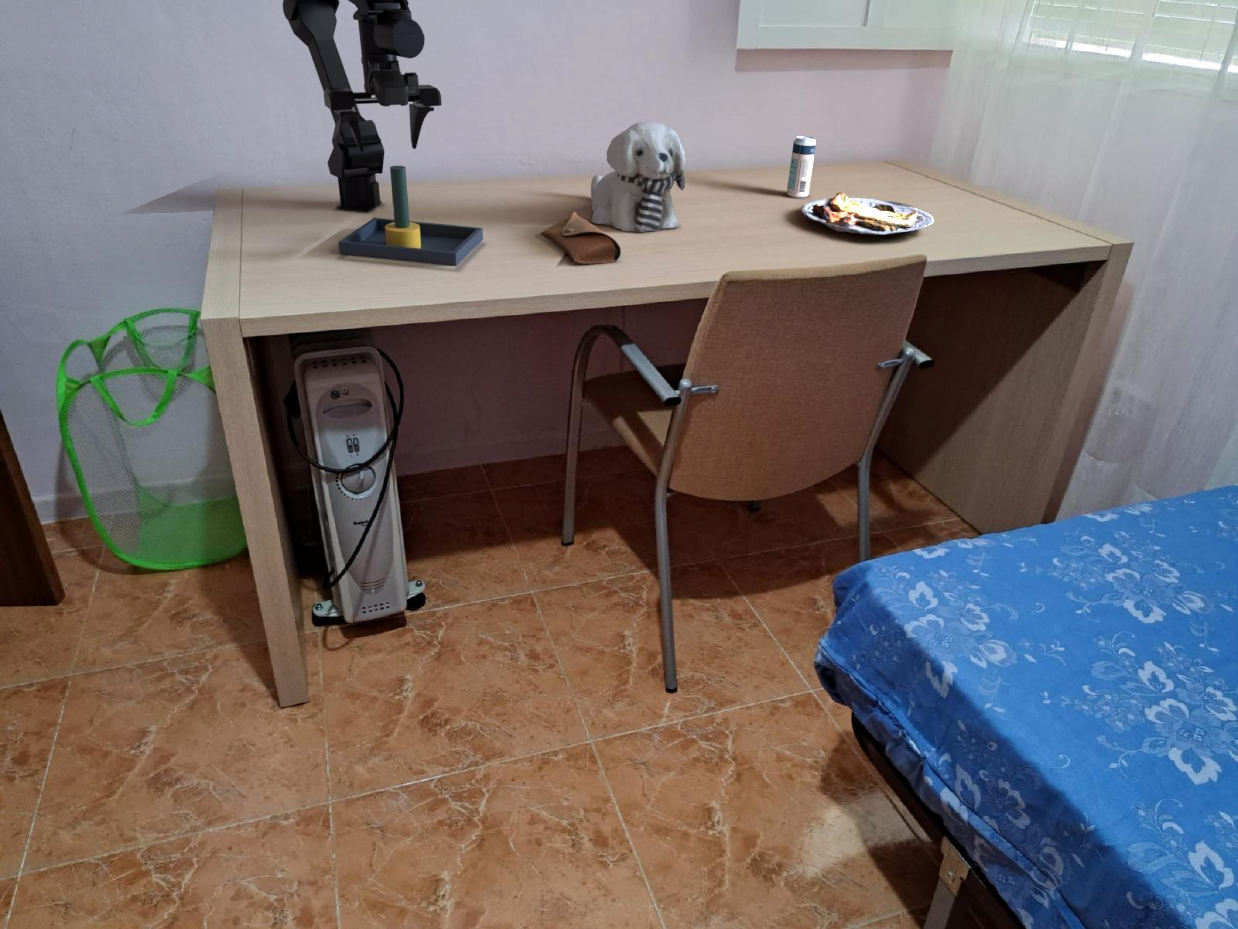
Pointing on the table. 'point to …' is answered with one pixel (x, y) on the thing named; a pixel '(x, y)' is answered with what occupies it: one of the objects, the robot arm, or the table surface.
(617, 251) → the sunglasses case
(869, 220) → the food plate
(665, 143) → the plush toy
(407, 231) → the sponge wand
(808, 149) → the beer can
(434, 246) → the tray
